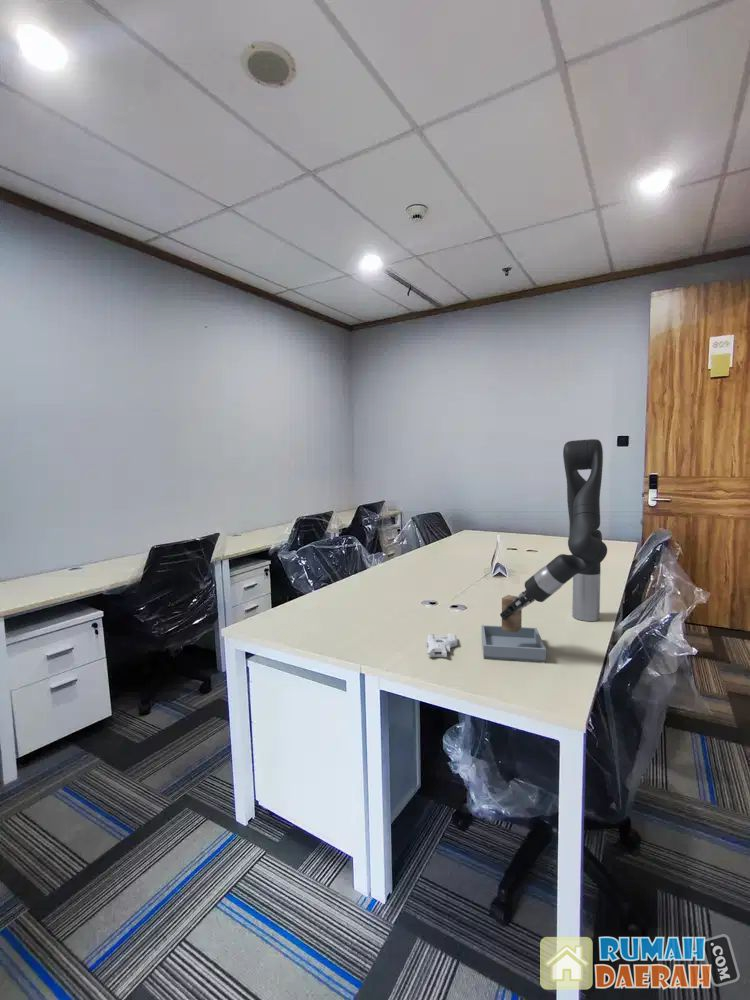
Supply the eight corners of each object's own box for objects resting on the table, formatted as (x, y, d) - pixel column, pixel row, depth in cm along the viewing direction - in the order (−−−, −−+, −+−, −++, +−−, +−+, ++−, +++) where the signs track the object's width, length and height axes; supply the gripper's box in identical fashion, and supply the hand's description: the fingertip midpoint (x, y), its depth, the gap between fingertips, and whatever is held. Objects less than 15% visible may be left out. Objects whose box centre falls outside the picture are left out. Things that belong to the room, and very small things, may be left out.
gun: (459, 649, 135) (425, 648, 137) (459, 660, 135) (425, 660, 137) (455, 630, 153) (425, 629, 155) (455, 640, 154) (425, 640, 155)
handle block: (501, 629, 142) (501, 598, 142) (507, 625, 146) (507, 594, 145) (515, 632, 140) (515, 600, 139) (521, 628, 143) (521, 597, 142)
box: (481, 636, 154) (481, 625, 153) (536, 639, 150) (536, 627, 150) (483, 658, 136) (483, 645, 136) (545, 662, 133) (545, 649, 133)
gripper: (544, 568, 142) (506, 600, 151) (526, 577, 131) (487, 611, 140) (561, 588, 139) (522, 619, 148) (545, 598, 128) (504, 631, 137)
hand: (505, 615), depth 144 cm, fingers closed on handle block, 4 cm apart
